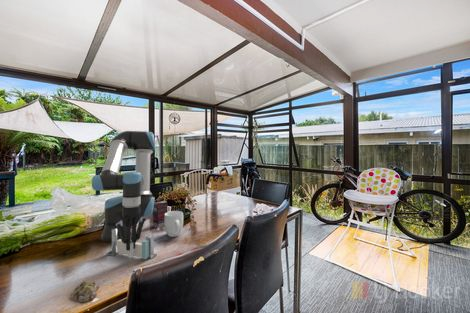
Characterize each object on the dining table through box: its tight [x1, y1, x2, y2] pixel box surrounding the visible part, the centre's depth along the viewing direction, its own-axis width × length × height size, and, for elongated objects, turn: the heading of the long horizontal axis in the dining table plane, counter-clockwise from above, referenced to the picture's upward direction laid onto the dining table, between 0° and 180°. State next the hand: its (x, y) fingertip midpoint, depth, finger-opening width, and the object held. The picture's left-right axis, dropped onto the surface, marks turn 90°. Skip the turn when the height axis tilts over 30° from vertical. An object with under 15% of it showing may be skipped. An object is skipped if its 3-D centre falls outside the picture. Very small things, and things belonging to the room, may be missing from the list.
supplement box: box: [152, 200, 168, 228], centre depth 141 cm, size 9×5×16 cm, turn 146°
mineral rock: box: [70, 280, 100, 303], centre depth 73 cm, size 11×4×8 cm
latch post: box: [145, 235, 157, 260], centre depth 99 cm, size 4×4×10 cm
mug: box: [164, 210, 184, 238], centre depth 124 cm, size 15×11×13 cm
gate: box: [117, 239, 149, 260], centre depth 99 cm, size 18×2×8 cm, turn 72°
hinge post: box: [106, 228, 120, 257], centre depth 102 cm, size 5×5×12 cm
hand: (130, 256), depth 95 cm, fingers closed
